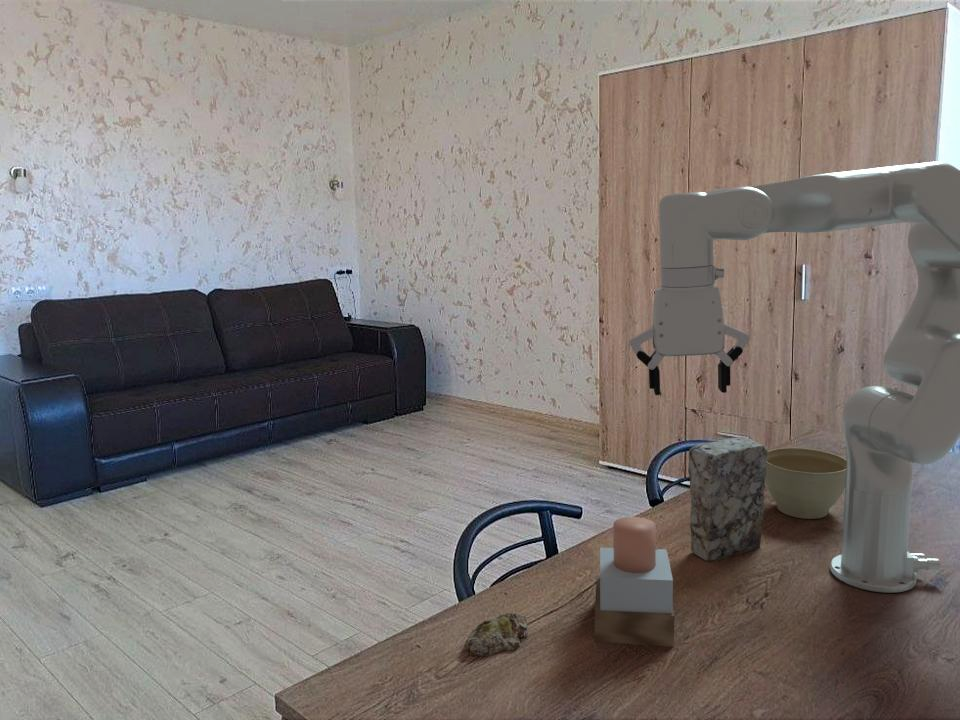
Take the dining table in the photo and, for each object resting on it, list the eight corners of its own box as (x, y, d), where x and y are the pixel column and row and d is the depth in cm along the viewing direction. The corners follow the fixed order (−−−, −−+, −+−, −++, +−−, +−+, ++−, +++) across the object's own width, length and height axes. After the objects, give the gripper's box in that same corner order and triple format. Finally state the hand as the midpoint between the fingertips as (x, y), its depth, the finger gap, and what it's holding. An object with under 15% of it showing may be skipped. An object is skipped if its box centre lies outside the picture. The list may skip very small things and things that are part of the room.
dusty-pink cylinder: (654, 555, 113) (654, 517, 112) (656, 573, 107) (656, 534, 106) (613, 553, 114) (613, 516, 113) (613, 572, 108) (613, 532, 107)
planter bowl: (812, 533, 142) (815, 478, 140) (743, 507, 155) (744, 456, 153) (864, 514, 150) (868, 462, 148) (794, 491, 163) (796, 442, 161)
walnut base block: (668, 609, 117) (669, 579, 116) (673, 648, 106) (674, 615, 105) (597, 605, 119) (596, 575, 118) (594, 643, 108) (594, 611, 107)
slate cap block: (666, 580, 116) (666, 549, 115) (672, 613, 106) (672, 580, 105) (600, 577, 117) (600, 547, 116) (600, 610, 108) (600, 577, 107)
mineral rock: (498, 602, 116) (535, 606, 110) (505, 630, 116) (543, 635, 110) (446, 632, 109) (482, 638, 103) (453, 661, 109) (490, 669, 103)
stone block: (714, 567, 130) (717, 455, 126) (684, 552, 136) (686, 445, 132) (767, 548, 136) (770, 441, 133) (736, 535, 142) (739, 432, 139)
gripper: (743, 272, 113) (743, 384, 117) (625, 279, 116) (629, 388, 119) (753, 277, 106) (754, 395, 109) (628, 284, 109) (632, 400, 112)
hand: (689, 391), depth 114 cm, fingers open, 9 cm apart
